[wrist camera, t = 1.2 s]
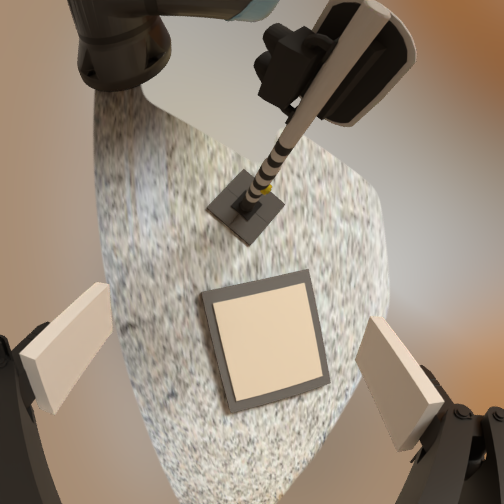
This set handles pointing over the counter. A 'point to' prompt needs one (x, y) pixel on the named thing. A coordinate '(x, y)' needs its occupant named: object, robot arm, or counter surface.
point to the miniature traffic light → (317, 92)
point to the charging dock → (267, 339)
